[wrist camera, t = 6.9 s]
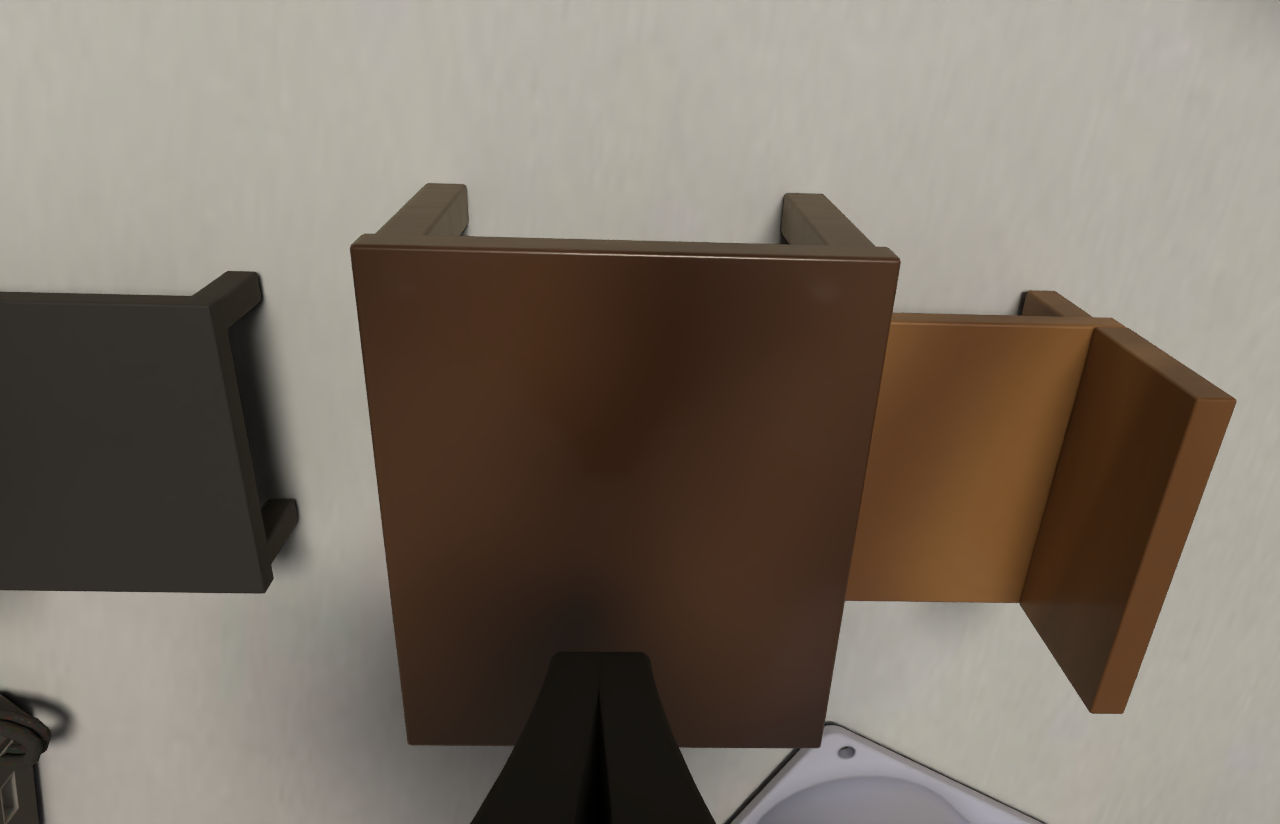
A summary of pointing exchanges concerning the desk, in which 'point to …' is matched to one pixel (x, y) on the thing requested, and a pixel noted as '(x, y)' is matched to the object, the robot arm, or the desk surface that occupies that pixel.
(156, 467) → the black chair
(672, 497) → the dining table
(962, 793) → the robot arm
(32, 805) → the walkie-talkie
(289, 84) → the desk surface
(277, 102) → the desk surface
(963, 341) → the oak chair
